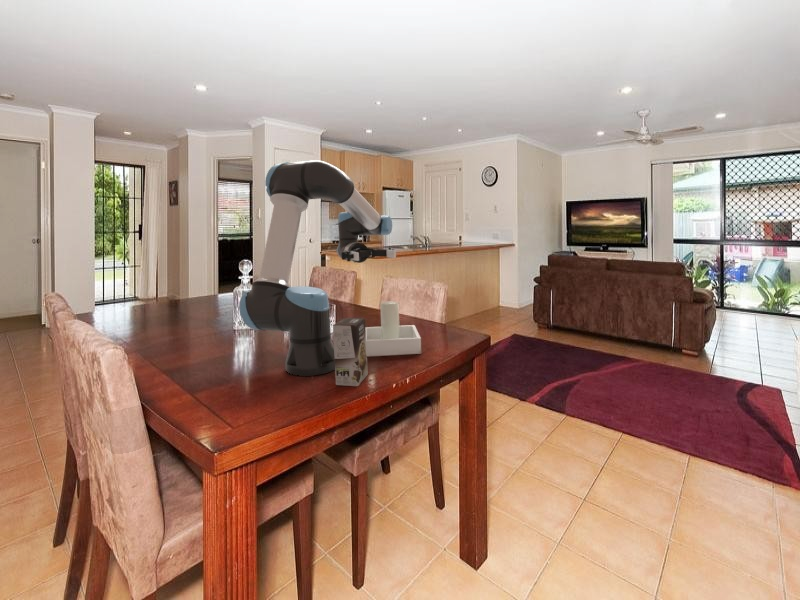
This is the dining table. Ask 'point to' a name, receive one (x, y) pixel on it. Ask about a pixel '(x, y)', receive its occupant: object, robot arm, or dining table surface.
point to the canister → (390, 320)
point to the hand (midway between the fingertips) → (376, 255)
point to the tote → (393, 342)
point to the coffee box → (350, 351)
